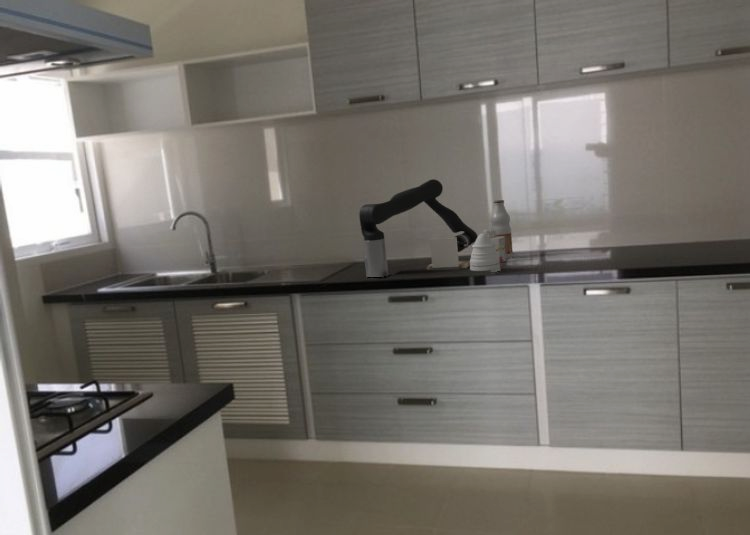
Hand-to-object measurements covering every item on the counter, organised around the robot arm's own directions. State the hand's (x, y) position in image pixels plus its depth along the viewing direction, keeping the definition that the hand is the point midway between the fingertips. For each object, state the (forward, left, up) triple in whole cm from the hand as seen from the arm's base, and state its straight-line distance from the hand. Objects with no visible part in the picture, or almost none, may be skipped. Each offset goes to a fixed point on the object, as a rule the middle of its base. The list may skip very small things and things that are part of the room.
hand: (450, 248), depth 298 cm
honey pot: (+18, -12, -10) cm, 24 cm away
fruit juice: (+19, +26, -10) cm, 33 cm away
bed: (0, -4, -9) cm, 10 cm away
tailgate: (0, -10, -8) cm, 13 cm away
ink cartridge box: (+19, +14, -10) cm, 25 cm away
